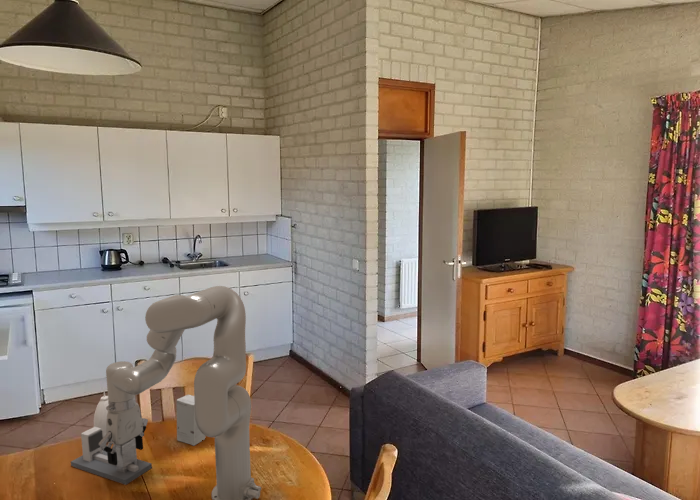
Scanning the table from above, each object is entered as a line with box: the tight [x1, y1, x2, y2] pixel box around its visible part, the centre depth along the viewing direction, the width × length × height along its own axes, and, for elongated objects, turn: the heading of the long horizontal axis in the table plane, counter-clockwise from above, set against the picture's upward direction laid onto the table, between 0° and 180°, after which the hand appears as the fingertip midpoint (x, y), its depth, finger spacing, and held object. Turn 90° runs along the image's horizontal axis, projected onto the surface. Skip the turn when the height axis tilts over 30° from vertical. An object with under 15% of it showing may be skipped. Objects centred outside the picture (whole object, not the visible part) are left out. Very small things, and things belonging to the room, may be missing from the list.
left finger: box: [115, 438, 138, 473], centre depth 161 cm, size 4×5×9 cm
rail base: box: [70, 426, 153, 486], centre depth 164 cm, size 24×10×10 cm, turn 64°
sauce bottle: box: [93, 389, 109, 438], centre depth 181 cm, size 8×8×18 cm
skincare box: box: [176, 394, 206, 446], centre depth 180 cm, size 8×6×15 cm
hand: (126, 456), depth 161 cm, fingers open, 9 cm apart
